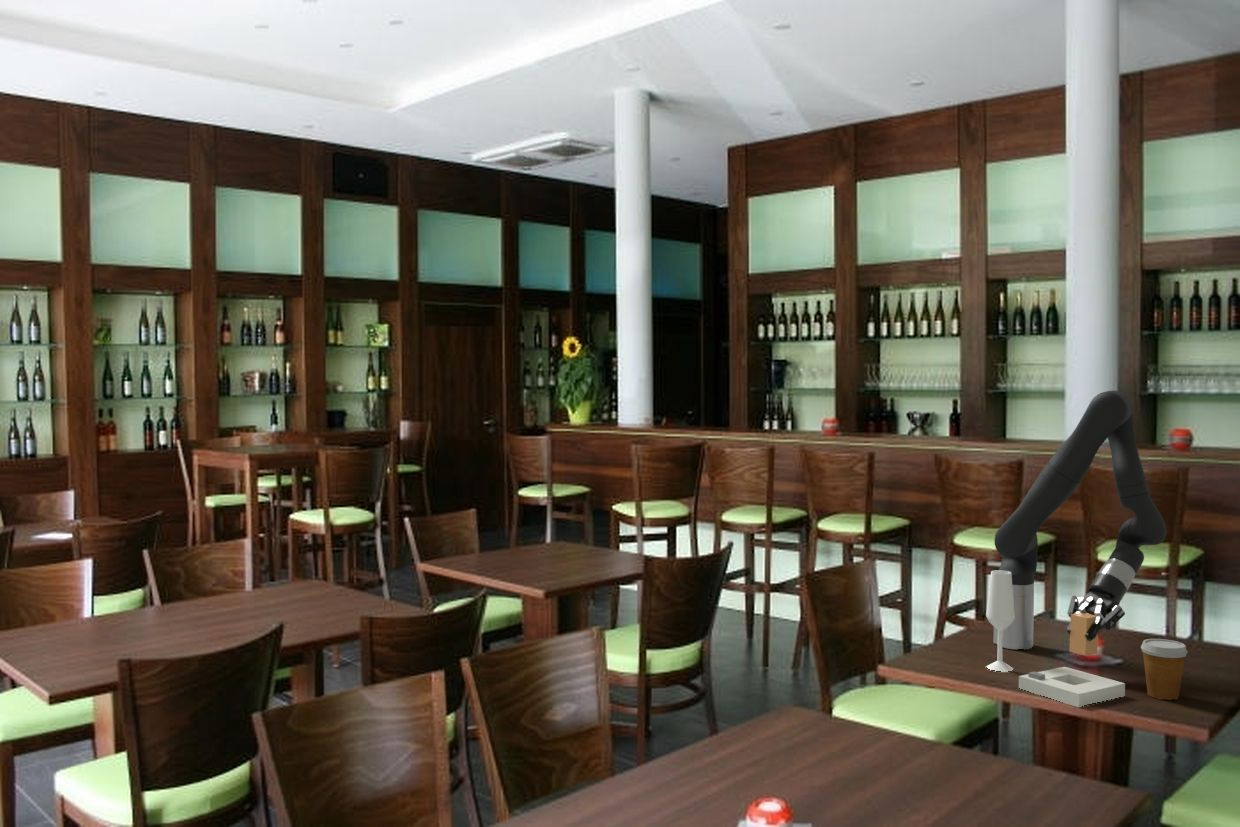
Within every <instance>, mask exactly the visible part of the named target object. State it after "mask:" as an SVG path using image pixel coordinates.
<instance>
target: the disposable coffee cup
mask: <svg viewBox="0 0 1240 827" xmlns="http://www.w3.org/2000/svg"><path fill="white" fill-rule="evenodd" d="M1140 649H1141V651H1142V656H1143V664H1144V673H1145V682H1146V689H1147V690H1146V691H1147V692H1146V693H1147V696H1149V697H1152V698H1153V697H1154V699H1159V700H1164V699H1165V700H1166V699H1167V701H1173V700H1172V699H1174V700H1178V699H1179V698H1178V697H1180V689H1181V685H1182V684H1181V683H1182V679H1183V672H1184V666H1185V659H1186V656H1187V654H1188V653H1189V652H1188V650H1187V648H1186V644H1184V643H1183V642H1181V641H1176V640H1173V639H1172V640H1171V639H1164V638H1148V639H1147V638H1146V639H1144V640H1142V644H1141V645H1140Z"/></svg>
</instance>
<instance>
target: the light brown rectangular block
mask: <svg viewBox="0 0 1240 827" xmlns="http://www.w3.org/2000/svg"><path fill="white" fill-rule="evenodd" d="M1095 618H1096V617H1095V615H1091V614H1087V612H1085V613H1076V614H1071V618H1070V622H1069V624H1070V635H1069V649H1068V650H1069V652H1071V653H1074V654H1078V655H1083V656H1090V655H1094V654H1095V655H1097V654H1098V640H1099V639H1098V637H1099V633H1098V634H1097V635H1096V637H1095V638H1094V639H1092V641H1088V640H1087V639H1086V637H1085V634H1086V633H1087V631H1088V629H1089V628H1090V626H1091V625H1092V624H1094V619H1095Z"/></svg>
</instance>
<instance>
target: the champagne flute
mask: <svg viewBox="0 0 1240 827" xmlns="http://www.w3.org/2000/svg"><path fill="white" fill-rule="evenodd" d="M985 616H986V618H987V621H988V622H989V623H990V625H992V626H993V628H994V627H995V628H996V629H998V645H997V655H996V656H997V658H996V659H997V660H996V661H994V662H992V663H990V664H988V665H986V666H985V668H986V667H987V668H988V669H990V670H989V671H991V670H995V671H994V672H996V671H1001V672H1000V673H1009V672H1008V671H1012V670H1013V669H1014V667H1012V666H1011V665H1009V664H1007V663H1006V662H1005V661H1003V630H1004V629H1006V628H1007V627H1008V626H1009V625H1010V624H1011V623H1012V622H1013V621H1014V619H1015V611H1014V599H1013V587H1012V574H1011V572H1009V571H1002V570H999V569H998V570H996V569H995V570H991V571H990V578H989V587H988V597H987V604H986V613H985ZM988 669H987V670H988ZM1012 672H1013V671H1012Z"/></svg>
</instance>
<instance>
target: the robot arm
mask: <svg viewBox="0 0 1240 827" xmlns="http://www.w3.org/2000/svg"><path fill="white" fill-rule="evenodd" d="M1133 414H1134V412H1133V404H1132V401H1131V399H1130V398H1129V397H1128V395H1126V394H1125V393H1124V392H1121V391H1118V390H1106V391H1103V392H1100V393H1098V394H1097V395H1095V396H1094V397H1093V398H1092V400H1090V403H1089V404H1088V406H1087V408H1086V410H1085V412H1084V413H1083V415H1082V417H1081V419H1080V420H1079V422H1078V424H1077V426H1076V427H1075V428H1074V430H1073V432H1072V433H1071V434H1070V435H1069V437H1067V439H1066V440H1065V441H1064V442H1063V443H1062V444H1061V445H1060V447H1059V448H1058V449H1057V451H1056V452H1054V454H1053V456H1052V457H1051V458H1050V459H1049V460H1048V461H1047V463H1046V465H1045V466H1044V468H1043V469H1042V470H1041V471H1040V473H1039V475H1038V476H1037V478H1036V479H1035V481H1034V482H1033V484H1031V487H1030V488H1029V490H1028V492H1027V494H1026V495H1025V497H1024V498H1023V500H1022V501H1021V503H1020V504H1019V506H1018V507H1017V508H1016V509H1015V511H1014V512H1013V513H1011V515H1010V516H1009V517H1008V518H1007V519H1006V521H1005V522H1004V523H1002V525H1001V526H999V528H998V529H997V531H996V533H995V535H994V547H995V549H996V551H997V553H998V554H1000V555H1001V562H1000V566H999V568H998V570H1002V571H1009V572H1011V574H1012V587H1013V599H1014V611H1015V619H1014V621H1013V622H1012V623H1011V624H1010V625H1009V626H1008V627H1007V628H1006V629H1004V630H1003V648H1004V649H1008V650H1009V649H1010V650H1018V649H1024V650H1031V649H1033V648H1034V614H1035V607H1034V606H1035V576H1036V573H1037V569H1038V566H1037V565H1038V550H1039V548H1038V547H1039V545H1038V544H1039V543H1038V541H1039V540H1038V535H1037V532H1038V531H1039V530H1040V529H1041V527H1042V526H1043V524H1044V523H1045V521H1046V520H1047V519H1048V518H1050V516H1051V515H1052V514H1054V513H1055V512H1056V510H1058V509H1059V508H1061V506H1062V505H1063V504H1064V503H1065V502H1066V501H1067V500H1068V499H1069V498H1070V497H1071V496H1072V494H1074V492H1075V490H1076V489H1077V488H1078V486H1079V485H1080V483H1081V482H1083V480H1084V478H1085V476H1086V474H1087V473H1088V471H1089V469H1090V467H1091V465H1092V463H1093V460H1094V458H1095V456H1096V455H1097V452H1098V451H1099V449H1101V448H1100V447H1101V446H1102V445H1104V444H1103V443H1105V441H1108V443H1109V447H1110V452H1111V463H1112V470H1113V471H1112V473H1113V478H1114V483H1115V487H1116V491H1117V494H1118V497H1119V502H1120V505H1121V507H1122V508H1124V509H1125V510H1128V511H1132V512H1133V513H1134V515H1135V517H1131V518H1129V519H1127V520H1126V521H1125V522H1123V524H1122V525H1121V526H1120V529H1119V531H1118V536H1117V538H1116V539H1117V540H1116V543H1115V548H1114V549H1113V551H1112V552H1111V554H1110V556H1109V557H1108V559H1107V560H1106V561H1105V562H1104V563H1103V565H1102V566H1101V568H1100V569H1099V571H1098V572H1097V574H1096V576H1095V577H1094V578H1093V581H1092V582H1091V584H1090V586H1089V588H1088V592H1087V593H1086V594H1085V595H1083V597H1078V596H1077V595H1072V596H1071V598H1070V602H1069V606H1068V608H1067V609H1068V610H1067V613H1066V614H1067V615H1068V617H1069V618H1070V619H1071V614H1076V613H1087V614H1091V615H1095V617H1096V618H1095V619H1094V624H1092V625H1091V626H1090V628H1089V629H1088V631H1087V633H1086V634H1085V637H1086V639H1087V640H1088V641H1092V639H1094V638H1095V637H1096V635H1097V634H1098V635H1099V632H1100V631H1101V630H1103V629H1105V630H1108V631H1109V630H1110V629H1112V627H1114V626H1115V625H1116V624H1117V623H1118V622H1119V621H1120V620H1122V618H1123V617H1124V616H1125V614H1126V612H1125V610H1124V609H1123V607H1122V606H1121V605H1119V604H1120V603H1121V602H1122V600H1123V598H1124V596H1125V595H1126V593H1127V591H1128V590H1129V588H1130V587H1131V585H1132V583H1133V581H1134V579H1135V576H1136V574H1137V573H1138V571H1139V570H1140V568H1141V566H1142V564H1143V563H1144V560H1145V555H1144V553H1143V551H1142V550H1141V549H1140V548H1141V546H1158V545H1160V544H1161V543H1163V542H1164V540H1165V539H1166V536H1167V526H1166V523H1165V520H1164V518H1163V516H1162V514H1161V513H1160V511H1159V510H1158V508H1157V506H1156V504H1155V502H1154V501H1153V499H1152V498H1151V494H1150V490H1149V487H1148V486H1149V485H1148V483H1147V479H1146V475H1145V472H1144V468H1143V465H1142V461H1141V457H1140V455H1139V450H1138V446H1137V441H1136V434H1135V433H1136V432H1135V428H1134V416H1133ZM1066 632H1067V634H1068V635H1069V636H1070V623H1069V624H1068V625H1067V627H1066ZM992 641H993V644H995V645H996V646H998V629H996V628H995V627H994V626H993V640H992ZM1032 647H1033V648H1032ZM1030 648H1031V649H1030Z"/></svg>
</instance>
